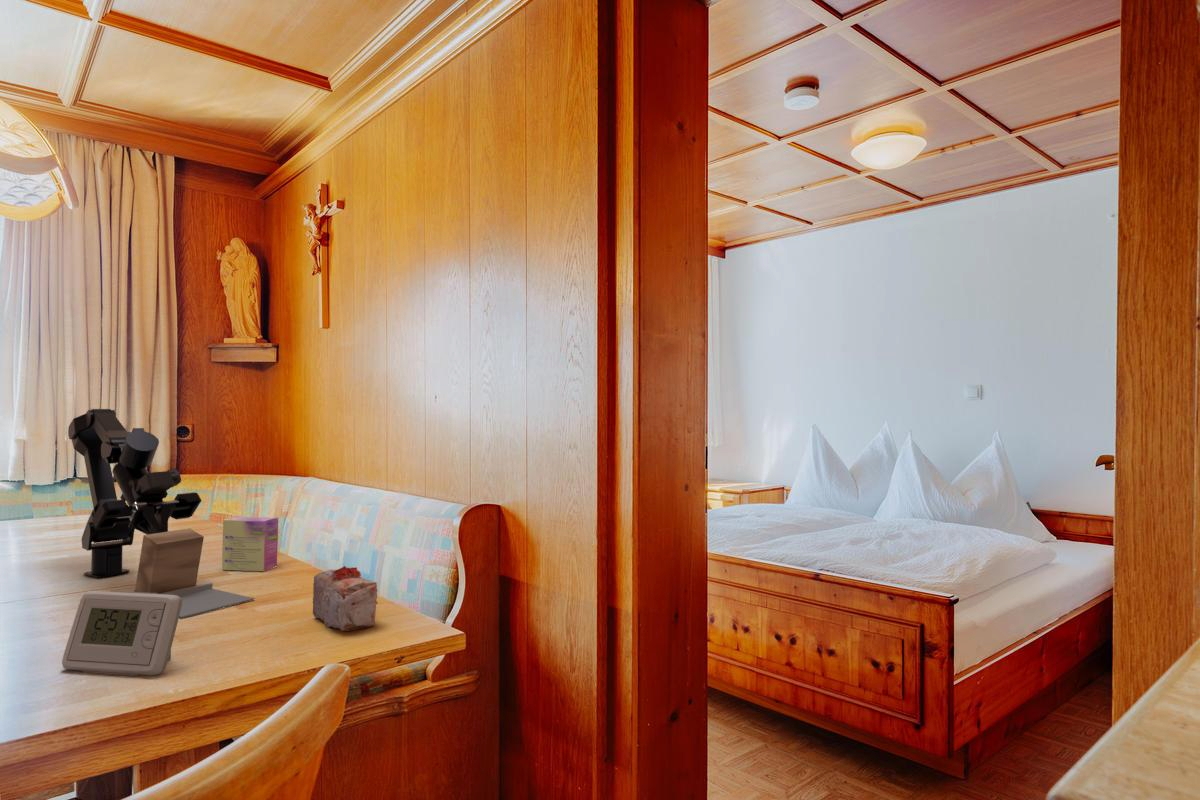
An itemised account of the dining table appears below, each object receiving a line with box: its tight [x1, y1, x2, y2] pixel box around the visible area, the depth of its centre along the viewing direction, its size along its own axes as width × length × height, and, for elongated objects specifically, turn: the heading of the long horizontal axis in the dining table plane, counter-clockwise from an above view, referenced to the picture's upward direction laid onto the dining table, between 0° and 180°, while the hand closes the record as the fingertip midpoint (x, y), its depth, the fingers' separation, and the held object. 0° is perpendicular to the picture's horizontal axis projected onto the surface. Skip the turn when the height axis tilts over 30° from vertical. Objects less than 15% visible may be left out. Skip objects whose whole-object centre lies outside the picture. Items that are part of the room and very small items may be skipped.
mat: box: [160, 582, 256, 620], centre depth 134 cm, size 15×14×2 cm
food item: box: [312, 565, 379, 632], centre depth 123 cm, size 14×8×10 cm, turn 46°
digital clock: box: [61, 590, 182, 677], centre depth 102 cm, size 16×9×11 cm, turn 70°
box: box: [221, 515, 279, 573], centre depth 163 cm, size 10×6×12 cm, turn 84°
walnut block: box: [134, 527, 205, 594], centre depth 139 cm, size 5×9×12 cm, turn 150°
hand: (165, 541), depth 140 cm, fingers closed
